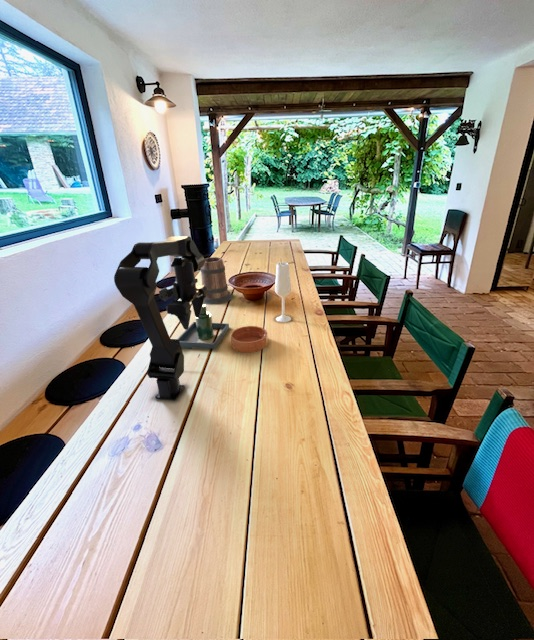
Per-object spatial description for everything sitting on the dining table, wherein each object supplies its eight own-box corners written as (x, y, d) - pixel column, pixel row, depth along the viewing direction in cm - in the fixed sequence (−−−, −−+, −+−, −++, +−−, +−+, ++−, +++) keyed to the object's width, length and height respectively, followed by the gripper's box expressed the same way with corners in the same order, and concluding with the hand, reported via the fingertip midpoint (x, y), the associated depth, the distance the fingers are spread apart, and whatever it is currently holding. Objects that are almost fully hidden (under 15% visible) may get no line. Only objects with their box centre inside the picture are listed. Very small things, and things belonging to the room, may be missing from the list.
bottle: (215, 338, 122) (211, 307, 117) (199, 341, 120) (195, 309, 115) (212, 332, 127) (208, 301, 122) (197, 335, 126) (192, 304, 120)
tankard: (231, 302, 157) (228, 262, 149) (197, 304, 156) (191, 264, 148) (233, 287, 178) (230, 251, 170) (203, 289, 178) (198, 253, 169)
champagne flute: (293, 317, 139) (293, 262, 129) (288, 323, 134) (287, 266, 124) (279, 314, 142) (278, 261, 132) (273, 320, 136) (271, 265, 126)
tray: (215, 350, 115) (214, 344, 114) (175, 347, 118) (174, 341, 117) (229, 329, 131) (228, 323, 129) (194, 327, 133) (193, 321, 132)
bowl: (263, 355, 111) (262, 343, 109) (226, 352, 113) (225, 341, 112) (270, 337, 123) (270, 326, 121) (237, 335, 125) (236, 325, 123)
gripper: (174, 268, 109) (181, 311, 116) (145, 286, 93) (155, 334, 99) (205, 269, 107) (210, 312, 114) (181, 287, 91) (189, 336, 97)
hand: (192, 323), depth 106 cm, fingers open, 9 cm apart
